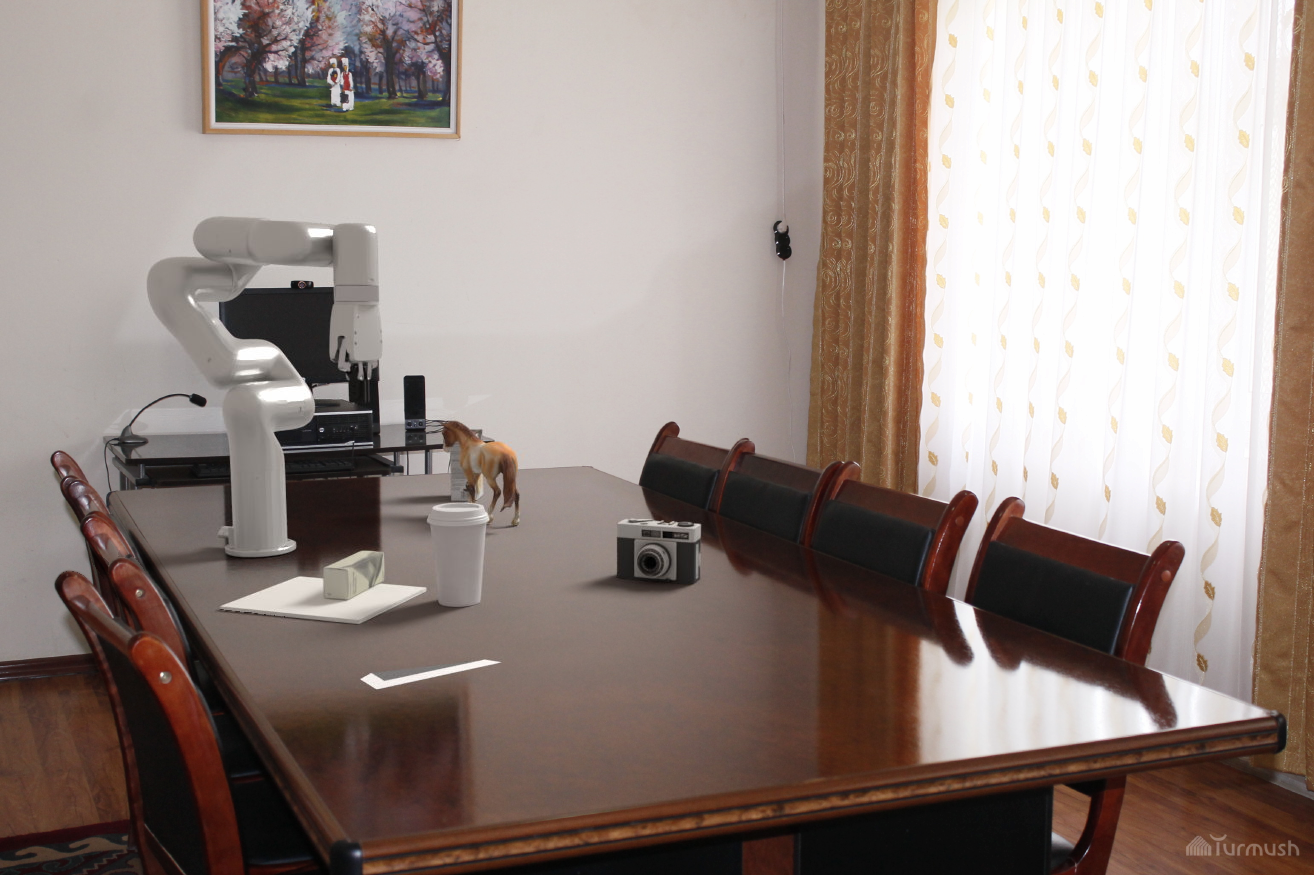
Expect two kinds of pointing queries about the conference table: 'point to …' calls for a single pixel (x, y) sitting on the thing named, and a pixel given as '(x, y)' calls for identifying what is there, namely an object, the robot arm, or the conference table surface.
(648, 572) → the camera
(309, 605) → the mat
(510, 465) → the horse figurine
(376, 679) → the white l-shaped strip
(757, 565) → the conference table surface
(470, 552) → the coffee cup
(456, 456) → the coffee box
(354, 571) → the box
